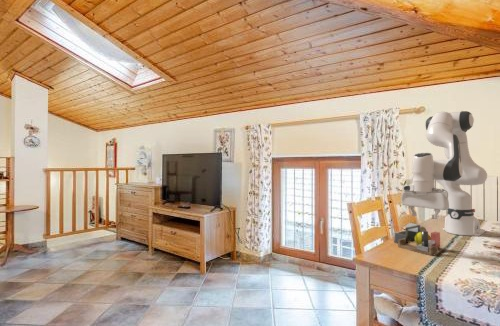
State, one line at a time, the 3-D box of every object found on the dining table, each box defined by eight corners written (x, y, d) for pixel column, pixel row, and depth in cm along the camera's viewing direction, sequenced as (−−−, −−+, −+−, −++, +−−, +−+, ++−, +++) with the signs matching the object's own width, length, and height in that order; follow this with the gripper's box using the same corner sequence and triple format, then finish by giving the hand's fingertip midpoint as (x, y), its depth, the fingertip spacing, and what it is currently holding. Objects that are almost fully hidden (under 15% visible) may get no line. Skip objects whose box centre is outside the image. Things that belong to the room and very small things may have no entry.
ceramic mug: (419, 240, 149) (419, 226, 150) (405, 237, 157) (404, 223, 157) (431, 238, 154) (431, 224, 154) (416, 234, 161) (416, 221, 162)
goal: (407, 239, 153) (406, 222, 153) (420, 242, 146) (420, 225, 146) (393, 242, 147) (393, 225, 147) (407, 245, 141) (406, 228, 141)
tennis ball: (413, 243, 144) (413, 230, 144) (428, 244, 142) (428, 230, 142) (416, 247, 137) (416, 233, 137) (433, 248, 135) (432, 234, 135)
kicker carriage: (432, 244, 137) (432, 227, 137) (443, 247, 133) (443, 229, 133) (417, 249, 131) (416, 231, 131) (428, 252, 127) (427, 233, 127)
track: (404, 245, 142) (404, 238, 142) (437, 253, 128) (437, 246, 128) (398, 247, 139) (397, 239, 139) (431, 255, 125) (431, 247, 125)
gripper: (451, 188, 122) (452, 220, 122) (406, 186, 140) (407, 213, 140) (443, 189, 119) (444, 221, 119) (398, 186, 137) (399, 214, 137)
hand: (424, 217), depth 130 cm, fingers open, 8 cm apart
